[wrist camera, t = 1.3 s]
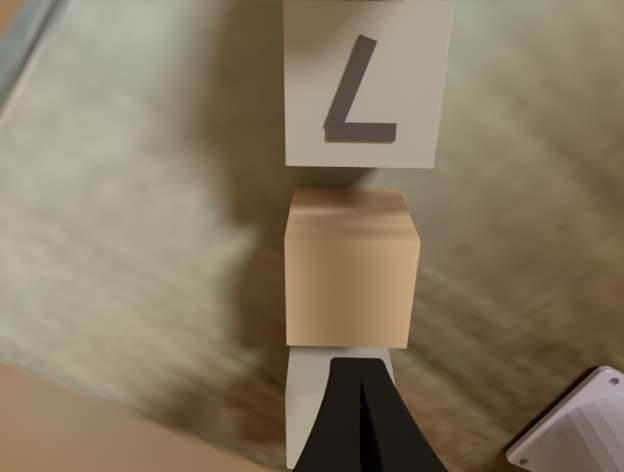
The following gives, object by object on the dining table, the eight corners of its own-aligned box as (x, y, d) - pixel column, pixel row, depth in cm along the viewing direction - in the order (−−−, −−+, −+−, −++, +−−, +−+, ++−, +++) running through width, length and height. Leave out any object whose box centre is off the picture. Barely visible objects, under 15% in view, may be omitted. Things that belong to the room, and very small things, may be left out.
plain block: (398, 188, 19) (420, 241, 15) (389, 277, 21) (406, 348, 17) (294, 186, 19) (284, 238, 15) (295, 275, 21) (286, 345, 17)
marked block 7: (420, 4, 16) (456, 1, 11) (407, 130, 18) (434, 169, 13) (295, 3, 16) (282, -1, 12) (295, 128, 18) (285, 166, 14)
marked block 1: (383, 320, 22) (397, 399, 18) (376, 387, 24) (388, 474, 20) (293, 318, 22) (285, 396, 18) (294, 385, 24) (286, 470, 20)
